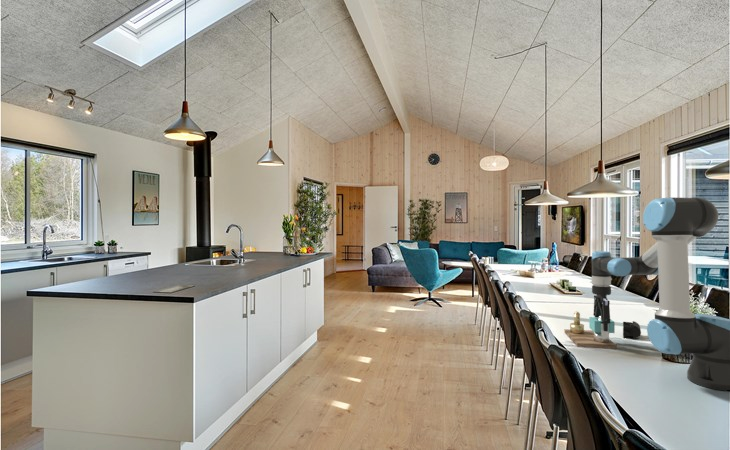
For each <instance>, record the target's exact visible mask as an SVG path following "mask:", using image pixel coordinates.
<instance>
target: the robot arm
mask: <svg viewBox="0 0 730 450" xmlns="http://www.w3.org/2000/svg"><path fill="white" fill-rule="evenodd" d="M718 211H719V210H718V209H717V207H716V206H715V204H713V203H712V202H711V201H710V200H708V199H706V198H703V197H694V196H693V197H660V198H659V197H658V198H655V199H652V200H651V201H649V203H647V205H646V206H645V208H644V210H643V213H642V223H643V226H644V228H645V229H646V230H647V231H649V232H651V237H652V238H653V239H654V240H655V241H656V242H655V243H654V244H653V245H652V246H650V247H649V248H648V249H647V250H646V251H645V252H644V253H643V254H641V255H640V256H637V257H635V256H633V257H631V256H630V257H615V256H614V257H613V256H612V254H611V252H609V251H605V250H600V251H599V250H596V251H593V252H591V253H592V254H591V284H592V285H591V293H592V294H594V295H593V314H592V315H593V317H599V316H601V318H602V322H600V323H601V338H609V339H610V333H609V332H608V324H609V323H610V319H611V313H610V312H611V309H610V304H611V303H610V300H608V298H607V297H608V296H610V295H611V294H612V287H611V285H612V281H613V278H612V276H615V277H626V276H652V275H658V276H657V278H658V298H659V299H658V300H659V301H658V302H659V303H658V304H659V309H657V310H656V311H655V312H654V319H651V320H649V321H648V324H647V326H646V333H647V336H648V339H649V341H650V343H651V344H652V345H653V347H654V348H655V349H656V350H657V351H659V352H660V353H663V354H666V355H674V356H675V355H691V354H692V355H693V357H692V360H691V362H690V364H689V367H688V369H687V372H686V378H687V380H688V381H690V382H692V383H693V384H696V385H698V386H701V387H705V388H709V389H712V390H716V391H717V390H719V391H725V392H726V391H727V390H730V319H729V318H725V317H722V316H717V315H710V314H707V313H706V314H704V313H695V314H694V313H693V312H692V310H691V300H690V299H691V297H690V278H689V277H690V274H689V273H690V272H689V251H688V250H689V248H688V245H689V244H690V243H692V242H693V241H694V240H695V239H697V238H702V237H704V236H705V235H707V234H709V233H710V232H711V231H712V230H713V229H714V228H715V226H716V225H717V224H718V221H719V212H718ZM727 392H728V391H727Z"/></svg>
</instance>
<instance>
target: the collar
mask: <svg viewBox="0 0 730 450" xmlns="http://www.w3.org/2000/svg"><path fill="white" fill-rule="evenodd" d="M588 320H589V323H588V325H589V326H588V327H589V329H590V330H591V331H594V332H600V333H601V323H600V322H602V320H598V317H595V316H589V319H588ZM615 323H616V322H615V321H614V320H612V319H611V318H610V323H609V324H608V332H609V334H615V328H616V327H615Z"/></svg>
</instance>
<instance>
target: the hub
mask: <svg viewBox="0 0 730 450" xmlns="http://www.w3.org/2000/svg"><path fill="white" fill-rule="evenodd" d="M569 329H570V332H571V333H573V334H584V330H585V325H584V324H583V323H581V313H580V312H579V311H575V312H574V313H573V322H571V323H570V324H569Z"/></svg>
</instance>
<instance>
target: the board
mask: <svg viewBox="0 0 730 450" xmlns="http://www.w3.org/2000/svg"><path fill="white" fill-rule="evenodd" d="M563 331H564V333H565V335H566V336H567V337H568V338H569V339H570V341H571V342H572V343H573V344H574V345H575V346H576V347H579V348H581V347H582V348H595V349H596V348H597V349H611V348H612V349H613V350H616V349H617V347H618V345H617V344H616V343H615V342H613V341H612V339H610V338H609V343H599V342H595V341H594V331H593V330H591V329H590V330H589V329H588V330H587V329H584V334H573V333H571V332H570V328H568V329H564V330H563ZM612 349H611V350H612Z"/></svg>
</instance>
